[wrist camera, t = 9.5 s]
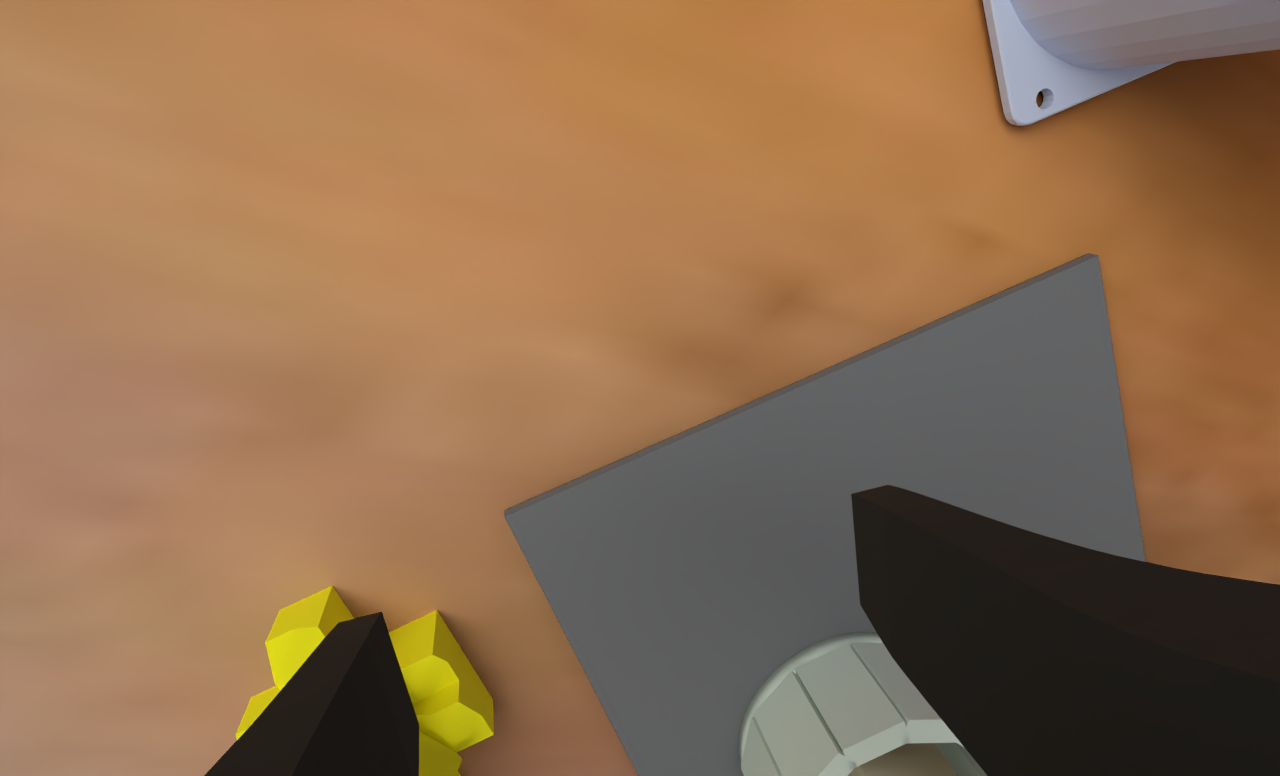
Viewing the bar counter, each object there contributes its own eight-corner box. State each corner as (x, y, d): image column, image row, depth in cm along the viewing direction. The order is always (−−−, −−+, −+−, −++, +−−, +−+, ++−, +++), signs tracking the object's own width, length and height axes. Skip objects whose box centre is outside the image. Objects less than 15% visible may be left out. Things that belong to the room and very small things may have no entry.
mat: (1088, 253, 23) (1098, 255, 23) (1154, 669, 29) (1163, 676, 28) (504, 510, 22) (504, 516, 21) (698, 888, 28) (701, 898, 27)
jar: (917, 596, 25) (995, 678, 21) (964, 756, 28) (1041, 854, 24) (707, 693, 25) (748, 794, 21) (776, 847, 27) (823, 961, 23)
